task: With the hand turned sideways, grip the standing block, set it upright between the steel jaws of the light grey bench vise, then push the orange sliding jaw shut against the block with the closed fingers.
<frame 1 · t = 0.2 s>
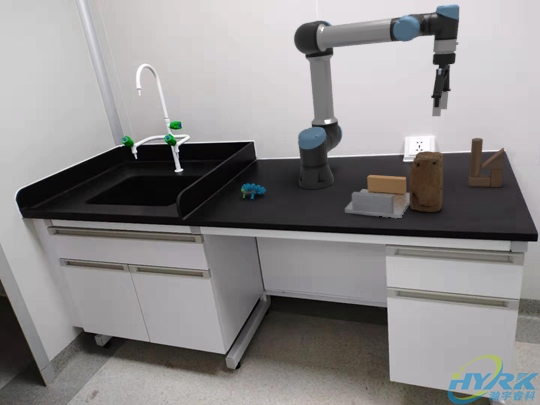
hand: (439, 112, 156), 27 cm above the worktop, tool pointing down, fingers open, 13 cm apart
block: (425, 209, 145), on the worktop
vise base: (380, 204, 153), on the worktop
blue bumpy figure: (254, 197, 177), on the worktop
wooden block: (484, 185, 156), on the worktop
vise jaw: (386, 184, 158), point 5 cm above the worktop, slide at 0.0 cm
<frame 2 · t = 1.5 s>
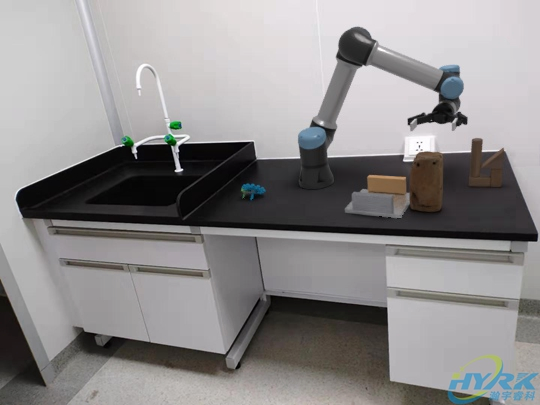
hand: (431, 127, 142), 26 cm above the worktop, tool horizontal, fingers open, 13 cm apart
nothing on the worktop moved.
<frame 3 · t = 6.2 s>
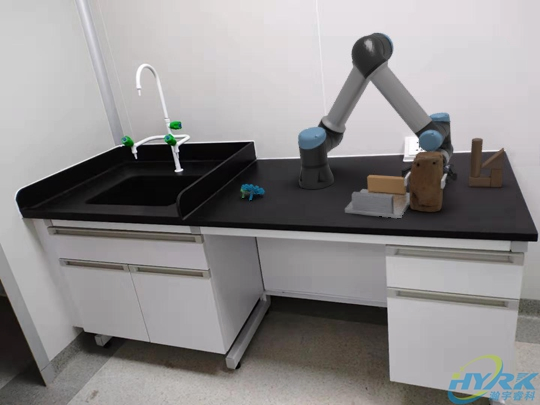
hand: (423, 183, 138), 11 cm above the worktop, tool horizontal, fingers closed on block, 11 cm apart
block: (425, 208, 145), on the worktop, touching gripper
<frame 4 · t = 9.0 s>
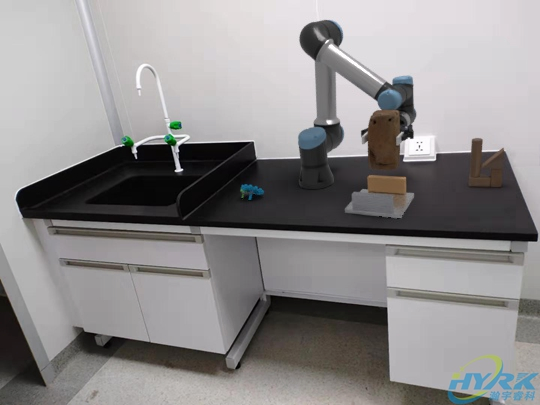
hand: (379, 140, 139), 26 cm above the worktop, tool horizontal, fingers closed on block, 11 cm apart
block: (383, 168, 146), point 14 cm above the worktop, touching gripper
when the fingers open (14 cm above the worktop, at t = 12.1 s): block drops 1 cm, resting on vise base.
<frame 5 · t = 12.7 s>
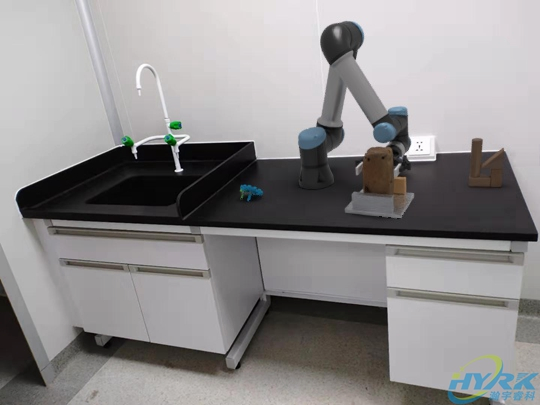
hand: (375, 172, 145), 14 cm above the worktop, tool horizontal, fingers open, 13 cm apart
block: (378, 201, 152), point 1 cm above the worktop, touching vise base
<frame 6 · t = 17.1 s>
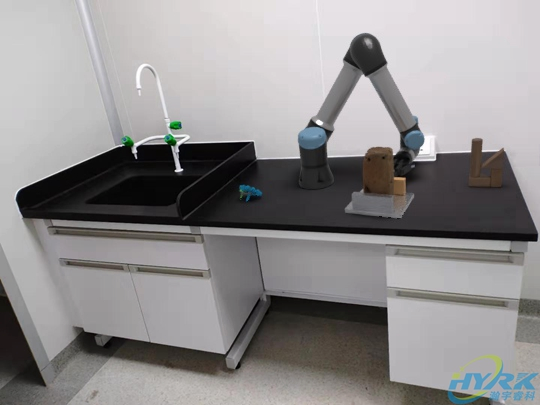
hand: (387, 179, 158), 6 cm above the worktop, tool horizontal, fingers closed
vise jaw: (386, 185, 157), point 5 cm above the worktop, slide at 0.8 cm, touching gripper
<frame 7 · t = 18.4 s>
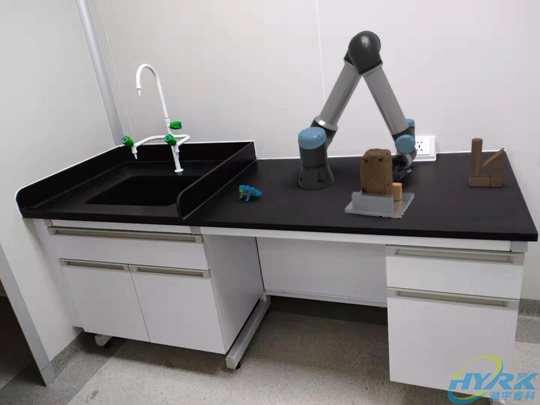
hand: (383, 184, 154), 6 cm above the worktop, tool horizontal, fingers closed
block: (376, 204, 151), point 1 cm above the worktop, touching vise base, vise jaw
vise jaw: (381, 190, 153), point 5 cm above the worktop, slide at 6.1 cm, touching block, gripper
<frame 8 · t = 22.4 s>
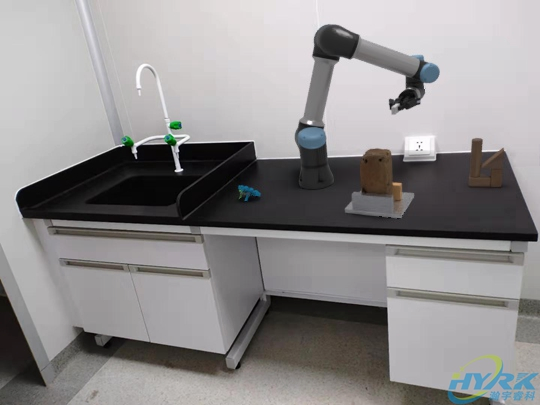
hand: (393, 110, 156), 30 cm above the worktop, tool horizontal, fingers closed
block: (376, 204, 151), point 1 cm above the worktop, touching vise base
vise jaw: (381, 190, 153), point 5 cm above the worktop, slide at 6.0 cm
at the end: block 1.2 cm from the target spot on the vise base, point 1.3 cm above the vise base's base; block tilted 0°; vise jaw slide at 6.0 cm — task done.
